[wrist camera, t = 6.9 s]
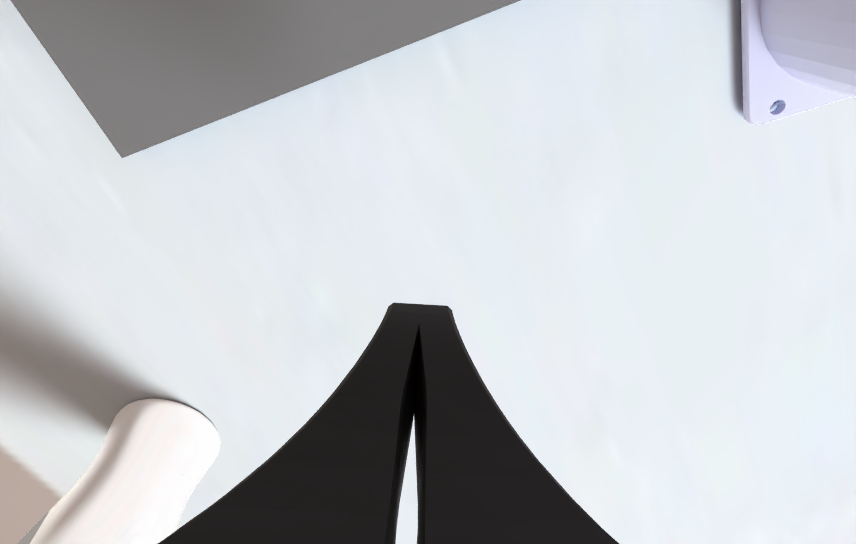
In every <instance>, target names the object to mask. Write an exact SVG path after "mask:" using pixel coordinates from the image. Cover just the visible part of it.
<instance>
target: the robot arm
mask: <svg viewBox="0 0 856 544" xmlns="http://www.w3.org/2000/svg"><path fill="white" fill-rule="evenodd" d="M741 27H742V76H743V115H744V119H745V120H746V121H747V122H748V123H750V124H753V125H763V124H766V123H769V122H773V121H776V120H779V119H782V118H785V117H789V116H792V115H795V114H798V113H801V112H805V111H808V110H811V109H814V108H817V107H821V106H824V105H827V104H830V103H833V102H837V101H840V100H843V99H846V98H849V97H853V98H856V0H741ZM777 100H779V105H778V107H777V108H776V109H775V110H774V111H772V112H770V107H771V105H772V104H773V103H774V102H776V101H777ZM413 416H414V419H415V445H416V470H417V494H418V536H417V544H619V543H618V542H617V541H615V540H614V539H613V538H612V537H611V536H610V535H609V534H608V533H607V532H605V531H604V530H603V529H602V528H601V527H600V526H599V525H598V524H597V523H596V522H595V521H594V520H593V519H592V518H591V517H590V516H589V515H588V514H587V513H586V512H585V511H584V510H583V509H582V508H581V507H580V506H579V505H578V504H577V503H576V502H575V501H574V500H573V499H572V498H571V496H570V495H569V494H568V493H567V492H566V491H565V490H564V489H563V487H562V486H561V485H560V484H559V483H558V482H557V481H556V480H555V479H554V477H553V476H552V475H551V474H550V473H549V472H548V471H547V470H546V468H545V467H544V466H543V465H542V464H541V463H540V462H539V461H538V459H537V458H536V457H535V456H534V454H533V453H532V452H531V451H530V449H529V448H528V447H527V446H526V444H525V443H524V442H523V440H522V439H521V438H520V437H519V435H518V434H517V432H516V431H515V430H514V428H513V427H512V426H511V424H510V423H509V422H508V420H507V419H506V417H505V416H504V414H503V413H502V411H501V410H500V408H499V407H498V405H497V404H496V402H495V400H494V399H493V397H492V396H491V394H490V392H489V391H488V389H487V387H486V386H485V384H484V382H483V380H482V379H481V377H480V375H479V373H478V371H477V369H476V368H475V366H474V364H473V362H472V360H471V358H470V356H469V354H468V352H467V350H466V348H465V346H464V343H463V341H462V339H461V336H460V334H459V331H458V329H457V326H456V323H455V320H454V317H453V313H452V310H451V309H450V308H449V307H448V306H440V305H423V304H405V303H393V304H391V305H390V306H389V307H388V309H387V312H386V314H385V316H384V318H383V320H382V322H381V324H380V326H379V328H378V330H377V331H376V333H375V335H374V336H373V338H372V340H371V341H370V343H369V344H368V346H367V347H366V349H365V350H364V352H363V353H362V355H361V356H360V358H359V360H358V361H357V362H356V364H355V365H354V367H353V368H352V369H351V370H350V372H349V373H348V374H347V376H346V377H345V378H344V380H343V381H342V382H341V383H340V385H339V386H338V387H337V389H336V390H335V391H334V392H333V394H332V395H331V396H330V397H329V398H328V399H327V401H326V402H325V403H324V404H323V405H322V406H321V407H320V409H319V410H318V411H317V412H316V413H315V414H314V415H313V416H312V417H311V418H310V419H309V420H308V421H307V423H306V424H305V425H304V426H303V427H302V428H301V429H300V430H299V431H298V432H296V433H295V434H294V435H293V436H292V437H291V438H290V439H289V440H288V441H287V442H286V443H285V444H284V445H283V446H282V447H281V448H280V449H279V450H278V451H277V452H276V453H275V454H273V455H272V456H271V457H270V458H269V459H268V460H267V461H266V462H264V463H263V464H262V465H261V466H260V467H258V468H257V469H256V470H255V471H254V472H252V473H251V474H250V475H249V476H248V477H246V478H245V479H244V480H243V481H241V482H240V483H239V484H238V485H237V486H235V487H234V488H233V489H232V490H231V491H229V492H228V493H227V494H226V495H224V496H223V497H222V498H220V499H219V500H218V501H217V502H215V503H214V504H213V505H211V506H210V507H209V508H207V509H206V510H204V511H203V512H202V513H200V514H199V515H197V516H196V517H194V518H193V519H192V520H190V521H189V522H187V523H186V524H185V525H183V526H182V527H180V528H179V529H178V530H176V531H175V532H173V533H172V534H171V535H169V536H168V537H166V538H165V539H164V540H162V541H161V542H159V543H158V544H395V540H396V527H397V518H398V510H399V502H400V496H401V490H402V484H403V478H404V472H405V466H406V460H407V453H408V447H409V441H410V435H411V429H412V423H413Z"/></svg>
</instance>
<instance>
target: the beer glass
mask: <svg viewBox="0 0 856 544" xmlns="http://www.w3.org/2000/svg"><path fill="white" fill-rule="evenodd" d="M220 445H221V441H220V436H219V434H218V432H217V430H216V428H215V427H214V425H213V424H212V423H211V422H210V421H209V420H208V419H207V418H206V417H205V416H204V415H202V414H201V413H199V412H198V411H196V410H195V409H193V408H191V407H189V406H186V405H184V404H181V403H178V402H175V401H171V400H165V399H142V400H138V401H134V402H132V403H129V404H128V405H126V406H125V407H123V408H122V409H121V410H120V411H119V412H118V414H117V415H116V417H115V418H114V420H113V422H112V424H111V427H110V429H109V431H108V433H107V435H106V437H105V440H104V442H103V444H102V446H101V448H100V450H99V452H98V454H97V455H96V457H95V458H94V460H93V461H92V463H91V464H90V466H89V467H88V469H87V470H86V471H85V472H84V474H83V475H82V476H81V477H80V479H79V480H78V481H77V482H76V483H75V485H74V486H73V487H72V488H71V489H70V490H69V491H68V492H67V493H66V494H65V495H64V496H63V497H62V498H61V499H60V500H59V501H58V502H57V503H56V505H54V506H53V507H52V508H51V510H50V511H49V512H48V513H47V514H46V515H45V516H44V517H43V518H42V519H41V520H40V521H39V522H38V523H37V524H36V525H35V526H34V527H33V528H32V529H31V530H30V531H29V532H28V533H27V534H26V535H25V536H24V537H23V538H22V539H21V540H20V541H19V542H18V543H17V544H158V543H159V542H161V541H162V540H164V539H165V538H166V537H168V536H169V535H171V534H172V533H173V532H175V531H176V530H177V528H178V525H179V522H180V518H181V516H182V514H183V511H184V509H185V506H186V504H187V502H188V500H189V498H190V496H191V494H192V492H193V491H194V489H195V487H196V486H197V484H198V483H199V481H200V480H201V478H202V477H203V476H204V474H205V473H206V472H207V470H208V469H209V467H210V466H211V465H212V463H213V462H214V460H215V459H216V457H217V455H218V453H219V450H220Z"/></svg>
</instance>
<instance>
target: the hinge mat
mask: <svg viewBox="0 0 856 544" xmlns="http://www.w3.org/2000/svg"><path fill="white" fill-rule="evenodd" d="M11 1H12V3H13V4H14V6H15V7H16V8H17V10H18V11H19V13H20V14H21V16H22V17H23V18H24V20H25V21H26V23H27V24H28V25H29V27H30V28H31V30H32V31H33V33H34V34H35V35H36V37H37V38H38V40H39V41H40V42H41V44H42V45H43V47H44V48H45V50H46V51H47V52H48V54H49V55H50V57H51V58H52V60H53V61H54V62H55V64H56V65H57V67H58V68H59V69H60V71H61V72H62V74H63V75H64V77H65V78H66V79H67V81H68V82H69V84H70V85H71V86H72V88H73V89H74V91H75V92H76V94H77V95H78V96H79V98H80V99H81V101H82V102H83V103H84V105H85V106H86V108H87V109H88V111H89V112H90V113H91V115H92V116H93V118H94V119H95V120H96V122H97V123H98V125H99V126H100V128H101V129H102V130H103V132H104V133H105V135H106V136H107V137H108V139H109V140H110V142H111V143H112V145H113V146H114V147H115V149H116V150H117V152H118V153H119V154H120V156H121V157H122V158H123V157H126V156H129V155H131V154H134V153H136V152H139V151H141V150H144V149H146V148H149V147H151V146H154V145H156V144H159V143H161V142H164V141H166V140H169V139H171V138H174V137H176V136H179V135H182V134H184V133H187V132H189V131H192V130H194V129H197V128H199V127H202V126H204V125H207V124H209V123H212V122H214V121H217V120H219V119H222V118H224V117H227V116H230V115H232V114H235V113H237V112H240V111H242V110H245V109H247V108H250V107H252V106H255V105H257V104H260V103H262V102H265V101H267V100H270V99H272V98H275V97H277V96H280V95H283V94H285V93H288V92H290V91H293V90H295V89H298V88H300V87H303V86H305V85H308V84H310V83H313V82H315V81H318V80H320V79H323V78H325V77H328V76H331V75H333V74H336V73H338V72H341V71H343V70H346V69H348V68H351V67H353V66H356V65H358V64H361V63H363V62H366V61H368V60H371V59H373V58H376V57H379V56H381V55H384V54H386V53H389V52H391V51H394V50H396V49H399V48H401V47H404V46H406V45H409V44H411V43H414V42H416V41H419V40H421V39H424V38H426V37H429V36H432V35H434V34H437V33H439V32H442V31H444V30H447V29H449V28H452V27H454V26H457V25H459V24H462V23H464V22H467V21H469V20H472V19H474V18H477V17H480V16H482V15H485V14H487V13H490V12H492V11H495V10H497V9H500V8H502V7H505V6H507V5H510V4H512V3H515V2H517V1H520V0H11Z"/></svg>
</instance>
